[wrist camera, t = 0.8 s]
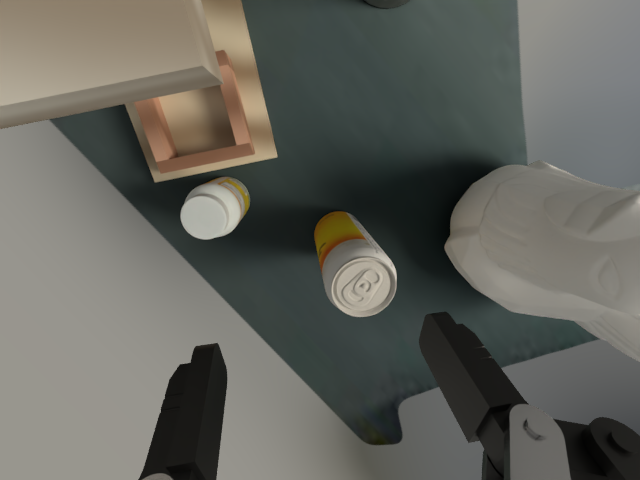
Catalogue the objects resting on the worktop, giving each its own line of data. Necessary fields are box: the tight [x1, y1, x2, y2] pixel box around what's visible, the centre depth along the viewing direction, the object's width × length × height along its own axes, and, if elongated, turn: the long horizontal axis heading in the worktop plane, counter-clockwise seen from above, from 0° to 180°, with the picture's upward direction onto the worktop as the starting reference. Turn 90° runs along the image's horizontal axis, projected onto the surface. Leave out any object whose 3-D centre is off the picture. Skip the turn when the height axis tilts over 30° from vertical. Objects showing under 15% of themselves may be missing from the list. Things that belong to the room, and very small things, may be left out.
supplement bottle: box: [180, 177, 250, 240], centre depth 30 cm, size 5×5×10 cm
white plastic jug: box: [444, 160, 640, 362], centre depth 28 cm, size 25×16×25 cm, turn 32°
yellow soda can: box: [314, 211, 397, 317], centre depth 30 cm, size 6×6×15 cm
